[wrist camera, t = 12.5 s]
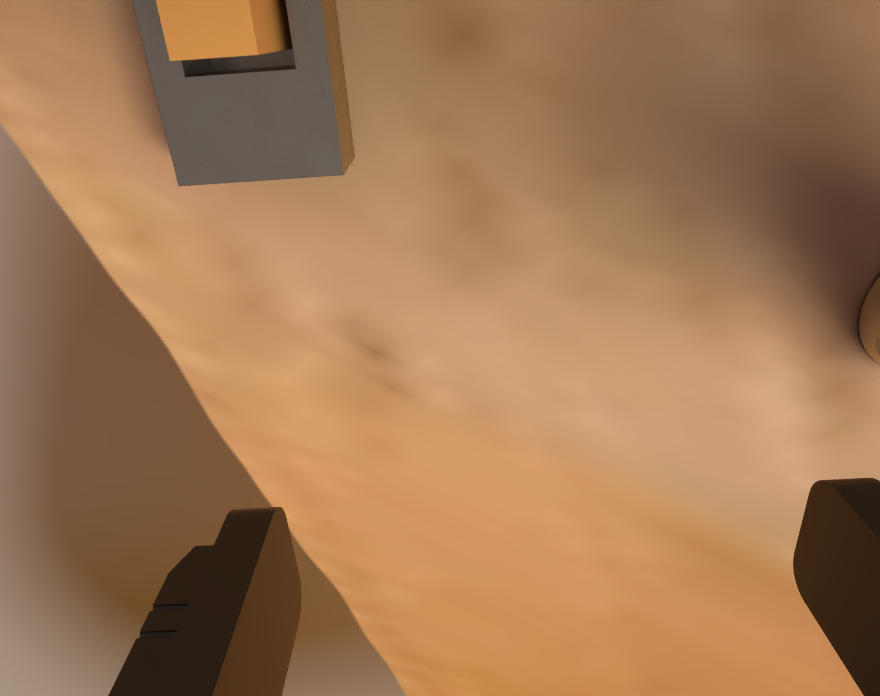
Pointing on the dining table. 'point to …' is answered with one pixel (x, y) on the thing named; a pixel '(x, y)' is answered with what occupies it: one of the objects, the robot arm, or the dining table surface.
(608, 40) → the dining table surface
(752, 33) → the dining table surface
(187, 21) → the long orange brick
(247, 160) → the grey slotted block
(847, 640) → the robot arm
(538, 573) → the dining table surface
